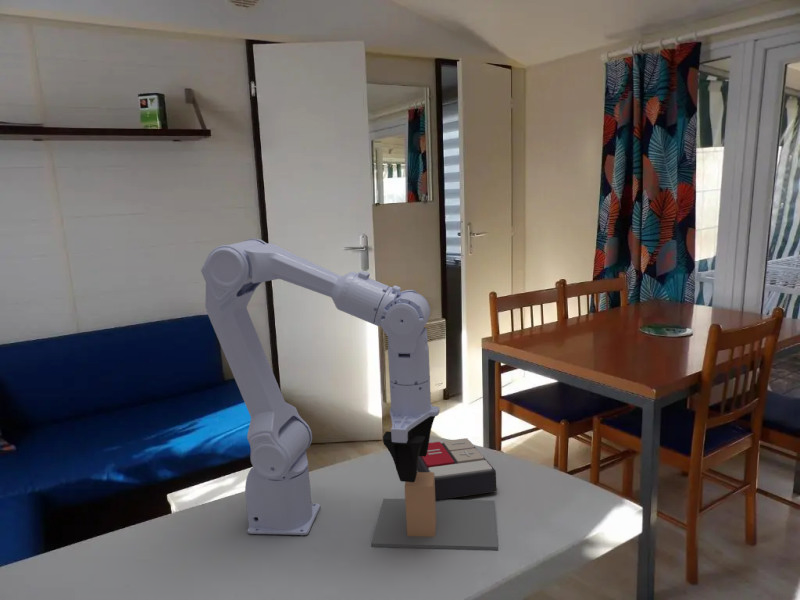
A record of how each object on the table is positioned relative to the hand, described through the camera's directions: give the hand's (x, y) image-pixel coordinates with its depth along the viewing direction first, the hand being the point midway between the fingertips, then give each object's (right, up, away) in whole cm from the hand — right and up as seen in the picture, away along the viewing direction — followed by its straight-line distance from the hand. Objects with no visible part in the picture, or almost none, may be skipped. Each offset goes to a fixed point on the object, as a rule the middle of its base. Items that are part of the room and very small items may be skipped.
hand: (413, 467), depth 84 cm
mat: (+4, -10, +4) cm, 11 cm away
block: (+1, -10, +2) cm, 10 cm away
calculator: (+7, -7, +17) cm, 20 cm away
